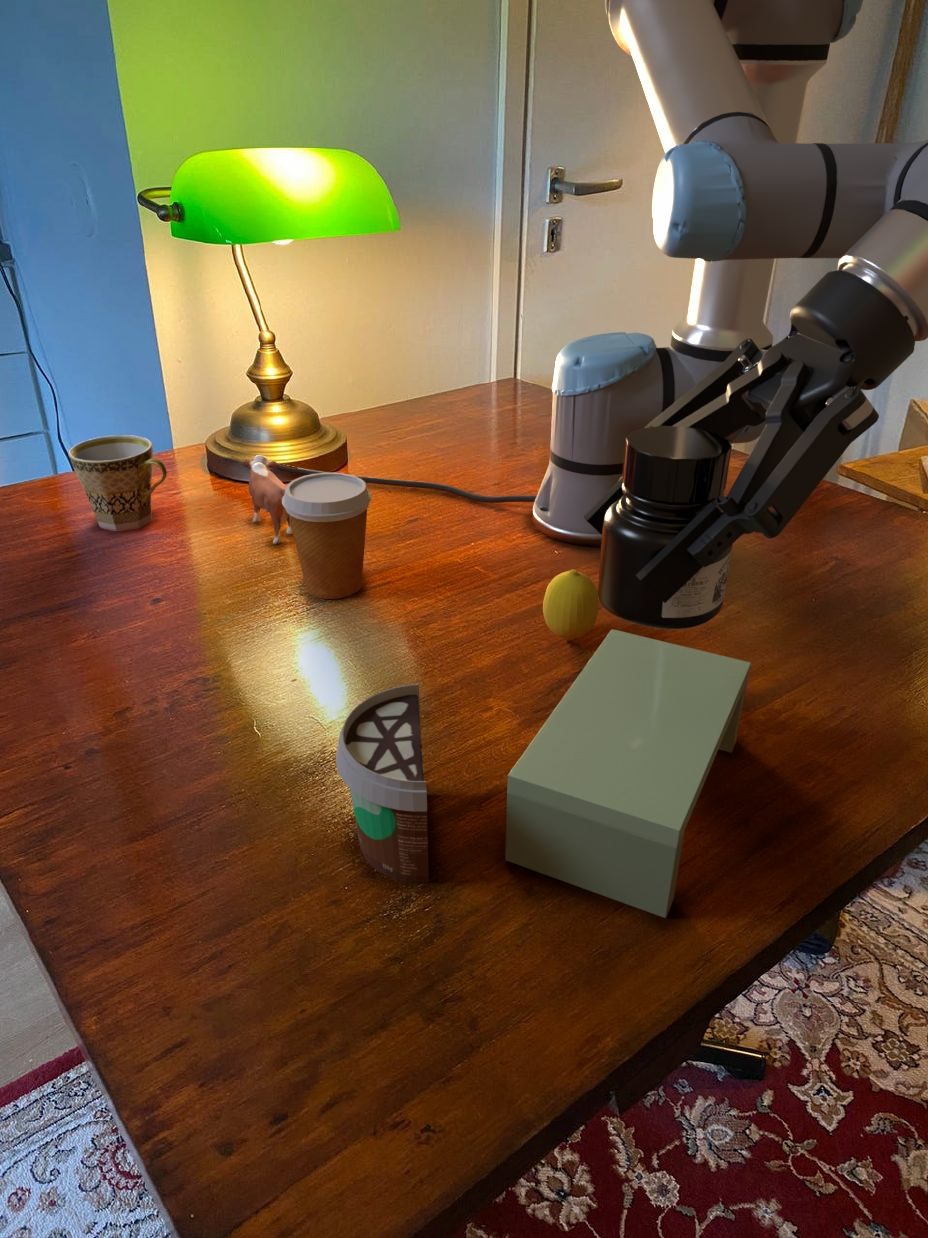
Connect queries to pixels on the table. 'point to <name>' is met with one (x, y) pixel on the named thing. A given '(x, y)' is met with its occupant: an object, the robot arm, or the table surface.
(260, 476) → the bull figurine
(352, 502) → the disposable coffee cup
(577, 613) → the lemon
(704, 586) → the ink bottle
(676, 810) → the shelf
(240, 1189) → the table surface
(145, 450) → the ceramic cup
